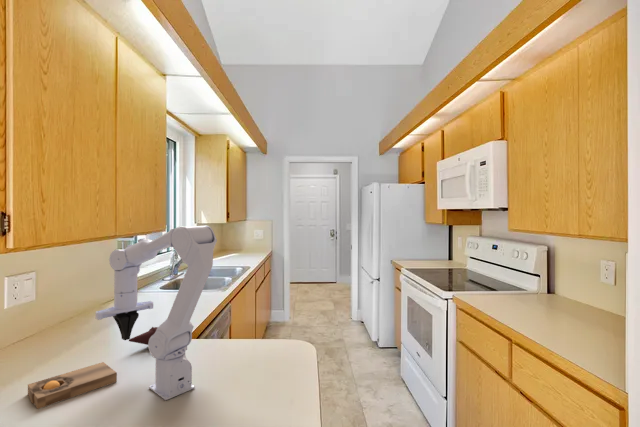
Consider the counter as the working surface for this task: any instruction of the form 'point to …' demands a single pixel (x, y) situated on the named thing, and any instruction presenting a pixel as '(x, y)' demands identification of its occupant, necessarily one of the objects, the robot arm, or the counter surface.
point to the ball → (51, 385)
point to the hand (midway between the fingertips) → (125, 338)
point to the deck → (71, 384)
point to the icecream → (144, 336)
